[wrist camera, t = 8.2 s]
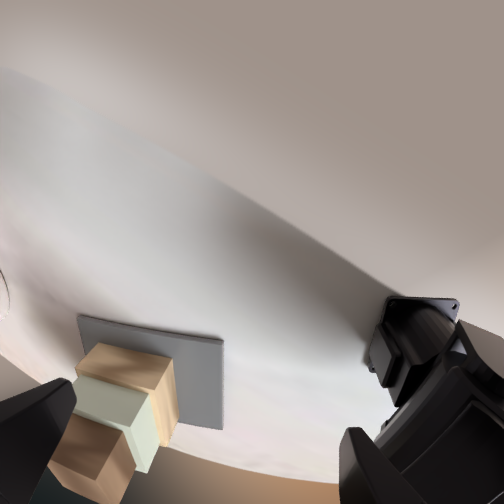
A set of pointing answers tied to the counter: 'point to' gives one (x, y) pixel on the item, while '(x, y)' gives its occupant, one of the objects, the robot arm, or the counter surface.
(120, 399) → the tower mid
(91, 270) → the counter surface
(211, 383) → the slate board
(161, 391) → the tower base
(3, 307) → the pill bottle
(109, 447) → the walnut block
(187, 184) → the counter surface
